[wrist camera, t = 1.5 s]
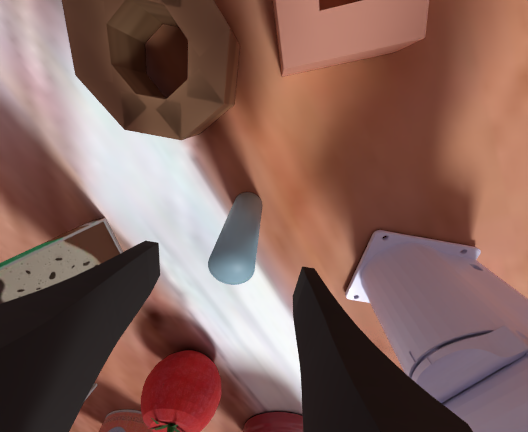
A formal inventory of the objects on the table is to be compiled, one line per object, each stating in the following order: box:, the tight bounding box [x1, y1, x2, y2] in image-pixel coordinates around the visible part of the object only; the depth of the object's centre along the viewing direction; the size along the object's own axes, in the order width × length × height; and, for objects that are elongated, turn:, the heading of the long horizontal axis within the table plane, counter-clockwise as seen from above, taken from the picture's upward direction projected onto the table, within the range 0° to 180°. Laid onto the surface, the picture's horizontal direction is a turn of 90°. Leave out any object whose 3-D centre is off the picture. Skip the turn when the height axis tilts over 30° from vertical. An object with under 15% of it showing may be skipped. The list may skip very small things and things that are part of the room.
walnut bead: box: [62, 0, 240, 140], centre depth 13 cm, size 8×8×4 cm
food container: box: [0, 218, 123, 400], centre depth 17 cm, size 12×6×10 cm, turn 8°
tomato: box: [141, 350, 221, 432], centre depth 25 cm, size 9×9×8 cm
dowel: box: [208, 192, 262, 285], centre depth 15 cm, size 2×2×8 cm
